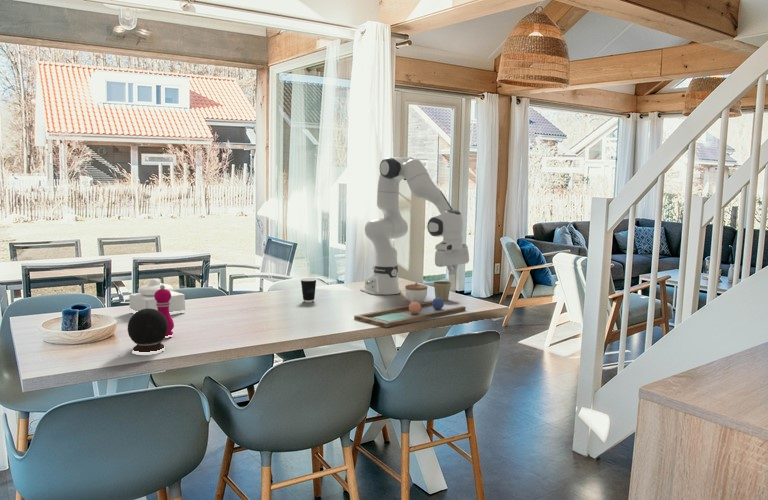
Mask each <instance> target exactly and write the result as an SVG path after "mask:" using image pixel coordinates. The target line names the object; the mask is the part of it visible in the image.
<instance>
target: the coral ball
mask: <svg viewBox="0 0 768 500" xmlns="http://www.w3.org/2000/svg"><path fill="white" fill-rule="evenodd" d="M421 310H422V307H421V305H420V304H419V303H418V302H412V303H411V302H410V303H409V310H408V311H409V312H410V313H411V314H413V315H418V314H419V313H420V312H421Z"/></svg>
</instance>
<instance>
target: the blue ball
mask: <svg viewBox="0 0 768 500" xmlns="http://www.w3.org/2000/svg"><path fill="white" fill-rule="evenodd" d="M431 301H432V305H431V306H432V307H433V308H434V309H435V310H441V309H443V307H444V306H445V300H443V299H442V298H439V297H437V298H433V300H431Z"/></svg>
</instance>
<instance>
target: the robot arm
mask: <svg viewBox="0 0 768 500" xmlns="http://www.w3.org/2000/svg"><path fill="white" fill-rule="evenodd" d="M379 172H380V174H379V176H378V181H377V182H378V183H377V191H376V192H377V193H376V194H377V195H376V206H377V208H378V209H379V210H380V211H382V214H383V218H374V219H371V220H368V221H367V222H366V223H365V225H364V234H365V236H366V237H367V238H368V239H369V240H370V241H371V243H372V245H373V247H374V250H375V265H373V267H372V270H373V273H371V274H370V275H369V276H368V277H367V278H366V279H365V281H364V286H363V287H360V289H359V291H361V292H365V293H367V294H370V295H385V296H386V295H396V294H400V293H401V288H400V282H399V276H398V273H399V266H398V251H397V249H396V248H395V247H393V246H392V244H391V241H390V240H392V239H393V240H394V239H399V238H402V237H405V236H406V235H407V234H408V229H409V226H408V222H407V221H406V220H405V219H404V218H403V216H402V214H401V212H400V207H399V204H400V203H399V199H400V197H399V195H400V183H401V181H402V180H404V181H406V183H407V185H408V187H409V189H410V192H411V193H412V194H413V195H414V196H415V197H417V198H418V199H422V200H425V201H428V202H430V203H432V204H433V205H434V206H435V207H436V208H437V210H438V212H439V215H436V216H433V217H430V219H428V221H427V232H428V233H429V235H430V236H432V237H435V238H436V237H437V238H438V237H442V241H441V242H439V243H437V244H435V248H434V249H435V250H436V251H435V253H434V265H435V266H436V267H439V268H442V267H443V268H444V267H446V268H447V271H448V275H450V276H454V275H456V273H457V270H458V267H459V266H458V265H462V264H468V263H469V261H470V253H469V248H468V245H467V244H466V243H463V235H462V233H463V229H464V227H463V215H462V213H461V212H460V211H459V210H456V209H453V208H452V206H451V205H450V202H449V201H448V199H447V198H446V196H445V194H444V193H443V192H442V190H441V189H440V188H439V187H438V186H437V185H436V184H435V183H434V181H433V180H432V178H431V176H430V173H429V172H428V170H427V169H426V167H425V165H424V164H423V162H422V161H421V160H419V159H417V158H414V157H411V156H410V157H407V156H406V157H405V156H396V157H386V158H383V159H382V160H381V161H380V164H379Z"/></svg>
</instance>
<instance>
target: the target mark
mask: <svg viewBox="0 0 768 500" xmlns="http://www.w3.org/2000/svg"><path fill="white" fill-rule="evenodd" d="M408 317H413V316H412V315H407V314H402V313H399V312H396V313H391V314H386V315H380V316H375V317H371V318H372V319H376V320H380V321H384V322H389V321H394V320H398V319H403V318H408Z"/></svg>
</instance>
